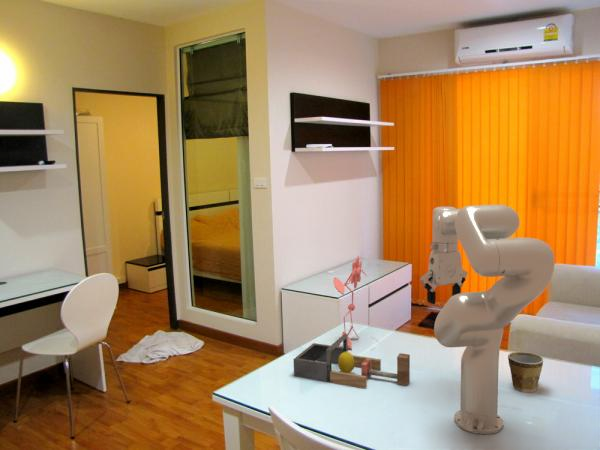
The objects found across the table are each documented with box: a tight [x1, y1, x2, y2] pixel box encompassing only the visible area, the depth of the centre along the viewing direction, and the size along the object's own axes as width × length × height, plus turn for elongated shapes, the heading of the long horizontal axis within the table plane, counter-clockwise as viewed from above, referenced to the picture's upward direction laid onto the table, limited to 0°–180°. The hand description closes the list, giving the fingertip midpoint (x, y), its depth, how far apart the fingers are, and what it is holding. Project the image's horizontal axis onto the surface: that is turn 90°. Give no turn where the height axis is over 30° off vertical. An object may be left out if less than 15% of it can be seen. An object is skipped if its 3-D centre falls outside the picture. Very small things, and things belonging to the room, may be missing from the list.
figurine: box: [333, 255, 379, 351], centre depth 202 cm, size 15×26×35 cm, turn 157°
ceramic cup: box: [507, 351, 544, 394], centre depth 163 cm, size 13×10×10 cm
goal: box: [293, 333, 349, 383], centre depth 180 cm, size 16×13×11 cm
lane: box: [329, 354, 382, 389], centre depth 175 cm, size 16×12×4 cm
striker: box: [360, 352, 411, 386], centre depth 170 cm, size 6×15×9 cm, turn 64°
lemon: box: [337, 351, 355, 374], centre depth 176 cm, size 6×6×8 cm
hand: (443, 300), depth 163 cm, fingers open, 9 cm apart
